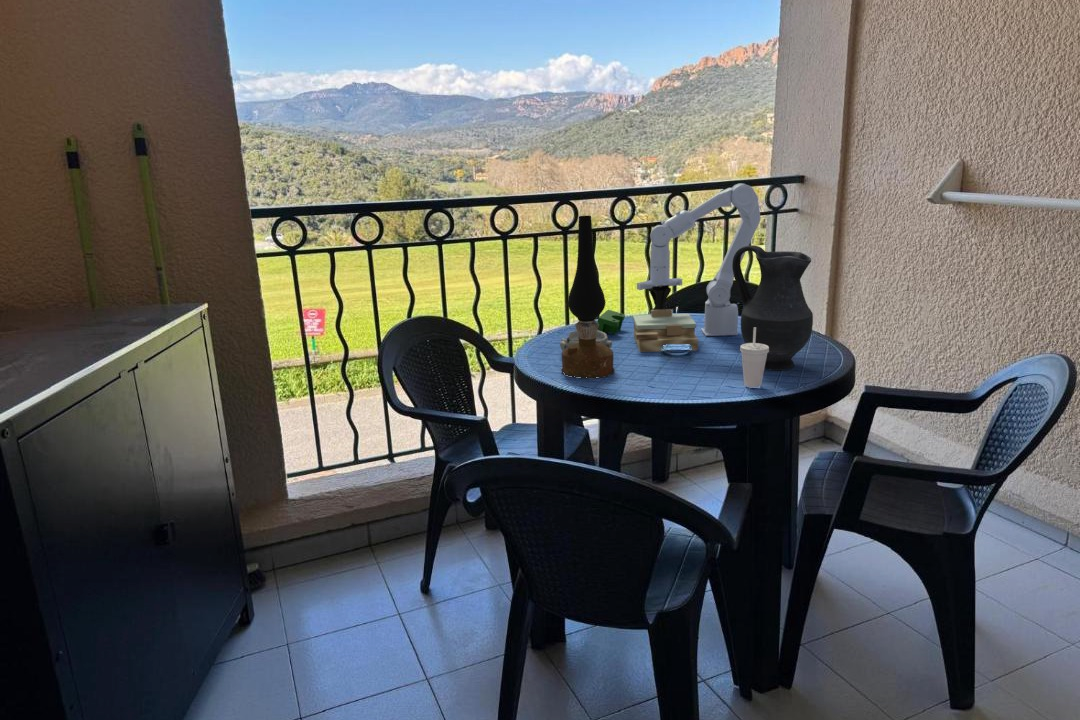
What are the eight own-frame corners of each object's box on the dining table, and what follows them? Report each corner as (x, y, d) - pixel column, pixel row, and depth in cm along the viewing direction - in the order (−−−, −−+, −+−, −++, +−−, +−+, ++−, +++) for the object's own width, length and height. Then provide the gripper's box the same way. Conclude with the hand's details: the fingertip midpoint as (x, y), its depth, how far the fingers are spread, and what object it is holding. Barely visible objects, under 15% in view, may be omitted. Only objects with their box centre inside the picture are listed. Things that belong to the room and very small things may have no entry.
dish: (560, 359, 185) (559, 342, 183) (560, 346, 198) (559, 329, 197) (613, 358, 184) (613, 340, 183) (609, 344, 197) (609, 328, 196)
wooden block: (656, 336, 190) (656, 332, 190) (657, 339, 188) (657, 334, 187) (635, 337, 190) (635, 332, 190) (636, 339, 188) (636, 334, 188)
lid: (688, 322, 203) (688, 307, 202) (696, 334, 190) (697, 318, 188) (632, 324, 204) (632, 309, 203) (637, 336, 190) (637, 320, 189)
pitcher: (790, 380, 161) (800, 254, 152) (713, 364, 175) (717, 248, 166) (820, 362, 172) (830, 245, 164) (745, 349, 186) (751, 240, 178)
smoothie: (761, 381, 161) (764, 324, 157) (771, 390, 155) (774, 331, 151) (734, 382, 161) (737, 325, 157) (743, 391, 155) (746, 332, 150)
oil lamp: (618, 378, 178) (644, 225, 171) (603, 386, 164) (630, 220, 157) (569, 367, 183) (592, 218, 176) (550, 375, 169) (574, 213, 162)
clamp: (611, 348, 208) (615, 326, 202) (593, 343, 210) (596, 320, 204) (624, 326, 217) (627, 303, 210) (606, 320, 218) (609, 298, 212)
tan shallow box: (687, 334, 204) (687, 318, 202) (697, 350, 188) (698, 332, 186) (633, 336, 205) (634, 320, 203) (639, 351, 188) (639, 334, 187)
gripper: (645, 270, 195) (644, 316, 199) (688, 265, 200) (687, 310, 204) (633, 267, 202) (633, 311, 206) (675, 262, 206) (674, 306, 210)
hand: (659, 310), depth 205 cm, fingers closed
